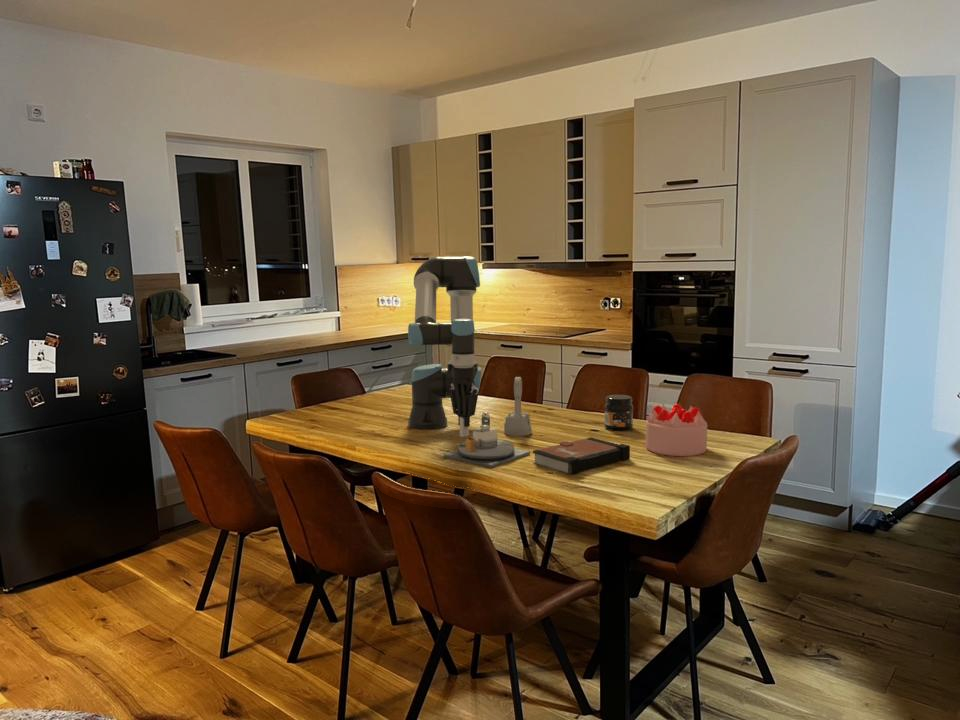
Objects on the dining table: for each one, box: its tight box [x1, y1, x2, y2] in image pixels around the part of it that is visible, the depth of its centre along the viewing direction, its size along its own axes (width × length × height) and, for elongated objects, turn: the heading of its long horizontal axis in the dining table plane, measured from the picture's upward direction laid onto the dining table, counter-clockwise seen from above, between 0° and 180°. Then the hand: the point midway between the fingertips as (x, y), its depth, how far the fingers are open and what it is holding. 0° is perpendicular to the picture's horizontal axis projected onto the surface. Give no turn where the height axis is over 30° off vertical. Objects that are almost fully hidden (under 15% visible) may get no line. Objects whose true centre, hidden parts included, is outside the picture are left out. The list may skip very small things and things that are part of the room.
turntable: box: [458, 437, 515, 459], centre depth 236 cm, size 18×18×6 cm
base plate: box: [443, 447, 531, 469], centre depth 237 cm, size 20×20×1 cm
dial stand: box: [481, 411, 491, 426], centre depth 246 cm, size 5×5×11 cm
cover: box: [472, 424, 499, 448], centre depth 236 cm, size 8×8×6 cm
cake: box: [645, 403, 708, 457], centre depth 242 cm, size 20×20×14 cm
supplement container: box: [604, 394, 634, 432], centre depth 272 cm, size 10×10×12 cm
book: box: [532, 436, 631, 476], centre depth 229 cm, size 26×18×5 cm
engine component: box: [503, 376, 532, 436], centre depth 267 cm, size 11×20×10 cm
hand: (464, 435), depth 243 cm, fingers closed
